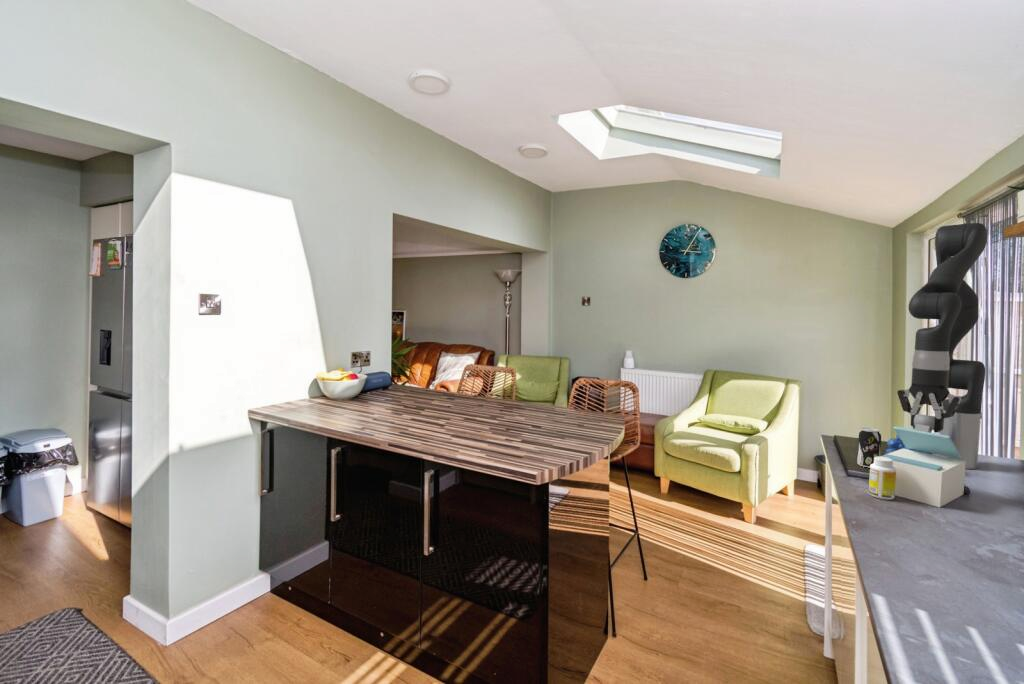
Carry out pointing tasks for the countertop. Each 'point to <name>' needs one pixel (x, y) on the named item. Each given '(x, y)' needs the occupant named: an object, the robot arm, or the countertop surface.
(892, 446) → the grapes
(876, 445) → the beverage can
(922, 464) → the carton
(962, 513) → the countertop surface
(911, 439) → the flap
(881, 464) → the supplement bottle
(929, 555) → the countertop surface
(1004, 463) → the countertop surface
